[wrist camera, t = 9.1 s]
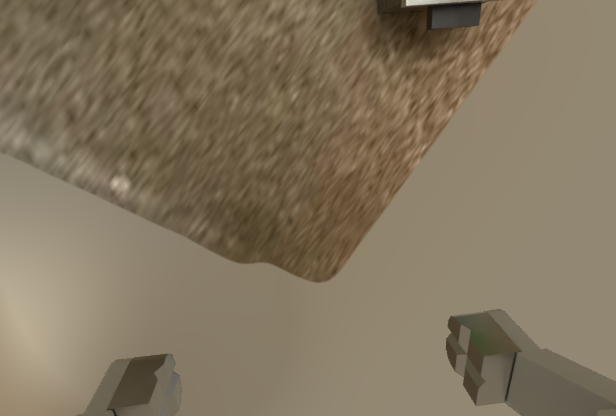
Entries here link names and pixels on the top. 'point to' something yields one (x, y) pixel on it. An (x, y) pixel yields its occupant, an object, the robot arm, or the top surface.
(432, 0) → the lid
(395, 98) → the top surface
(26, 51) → the top surface
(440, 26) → the pot
